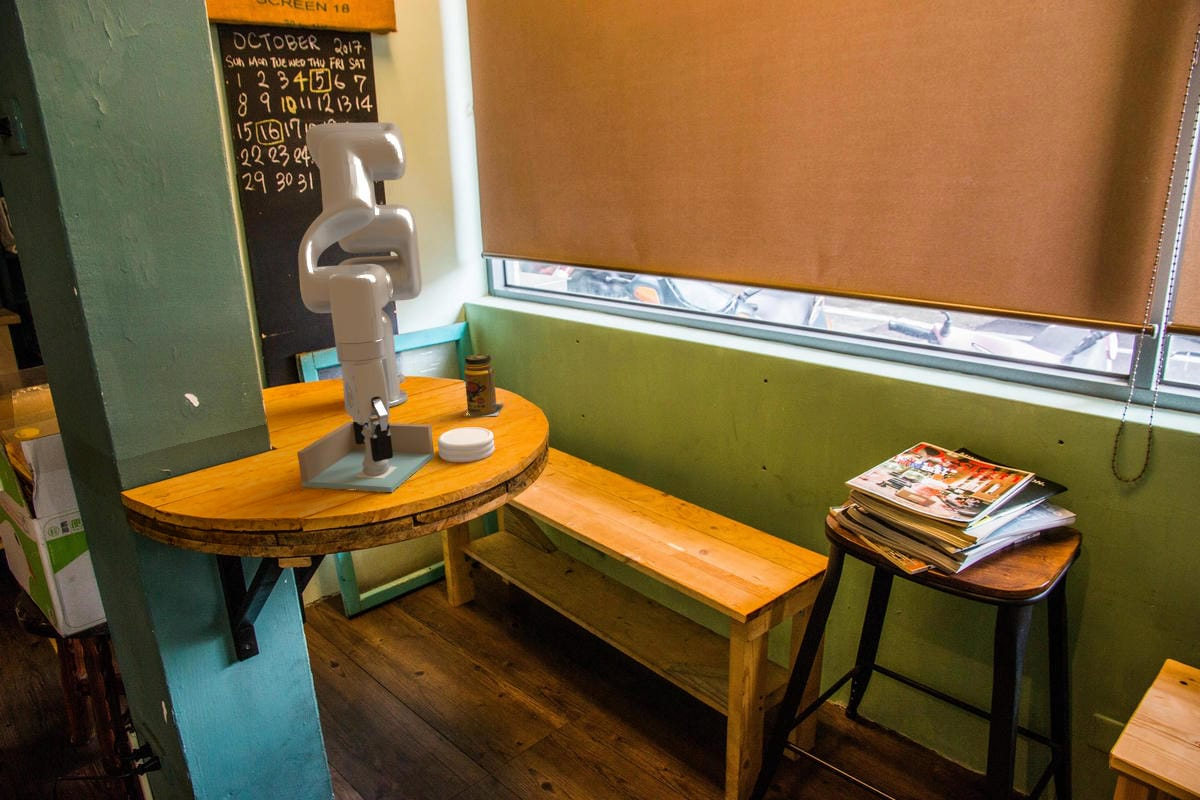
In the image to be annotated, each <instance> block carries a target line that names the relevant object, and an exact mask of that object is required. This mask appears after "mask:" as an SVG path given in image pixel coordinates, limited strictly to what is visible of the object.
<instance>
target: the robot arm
mask: <svg viewBox="0 0 1200 800" xmlns="http://www.w3.org/2000/svg"><path fill="white" fill-rule="evenodd" d="M305 142H306V147H307V149H308V151H309V155H310V157H311V158H312V160H313V162H314V163H315V165H316V166H317V168H318V169H319V174H320V176H319V177H320V185H321V188H320V189H321V200H322V201H321V202H322V212H321V213H320V214H319V215H318V216H317V217H316V218H315V220H314V221H312V223H311V224H310V226H309V227H308V228H307V230H306V232H305V233H304V235H303V237H302V239H301V242H300V245H299V248H298V257H297V259H298V275H299V277H298V278H299V290H300V294H301V295H300V296H301V300H302V302H303V304H304V306H305V307H306V308H307V310H309V311H311V312H313V313H314V314H329V313H331V319H332V326H333V327H332V328H333V334H334V341H335V342H334V343H335V350H336V351H335V352H336V357H337V362H338V363H339V364H341V374H342V375H341V377H342V389H343V390H342V391H343V399H344V410H345V412H346V414H347V415H348V416H349V417H350V418H351V419H352V421H355V422H353V427H354V434H355V442H356V444H358V445H359V444H364V443H365V442H364V440H365V436H364V435H363V434H362V433H361V432H362V430H363V426H364V425H367V427H369V429H370V432H371V436H372V437H371V438H370V444H371V452H372V459H373V461H374V462H377V461H382V460H386V459H390V458H392V457H393V451H392V443H391V433H390V429H389V428H390V426H389V424H388V423H389V418H390V415H391V413H390V408H392V407H395V406H399V405H401V404H404V402H406V401H407V400H408V392H406V391H405V390H403V389H400V385H401V384H402V383H404V382H405V381H406V376H405V375H404V374H401V373H400V374H398V364H397V355H396V348H395V337H394V329H393V323H392V320H391V318H390V317H389V315H388V314H387V313H386V311H384V310H383V308H385V307H386V306H387V304H388V303H389V302H397V301H408V300H414V299H416V298H418V297H419V296H420V294H421V291H422V287H423V286H422V284H423V283H422V269H421V261H420V260H421V259H420V250H419V249H420V248H419V241H418V232H417V224H416V221H415V218H414V217H415V216H414V215H413V212H412V211H411V209H410V208H409V207H407V206H405V205H403V204H377V200H376V195H375V184H374V182H378V181H379V182H382V181H397V180H401V179H403V178H404V175H405V173H406V167H407V156H406V155H407V154H406V149H405V144H404V138H403V135H402V132H401V130H400V128H399V127H398V126H397V124H395V123H392V122H380V121H379V122H331V123H330V122H329V123H320V124H316V125H313V126H310V128H308V130H307V131H306V133H305ZM337 242H338V244H339V247H340V248H341V249H342V250H343V251H344V252H346V253H350V254H371V253H372V254H374V253H391V252H393V253H394V254H396V255H386V256H385V255H383V256H363V257H361V256H360V257H353V258H348V259H345V260H343V261H341V262H340V263H339V264H338V265H329V266H328V265H325V266H318V261H319V258H320V256H321V255H322V253H324V251H326V249H328V248H329V247H331V246H332V245H333V244H335V243H337ZM378 423H379V424H378ZM373 424H377V425H376V429H375V428H374V425H373Z"/></svg>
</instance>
